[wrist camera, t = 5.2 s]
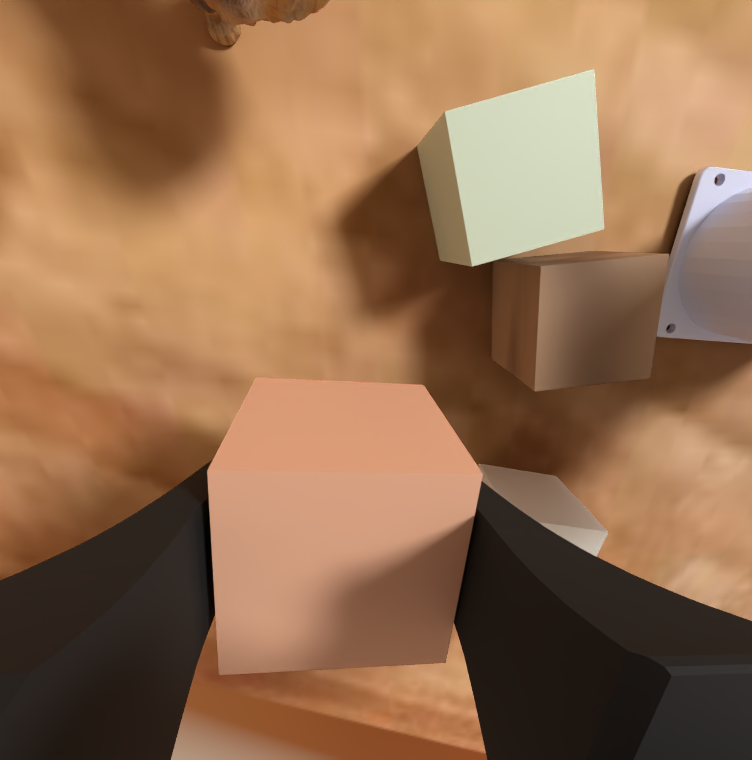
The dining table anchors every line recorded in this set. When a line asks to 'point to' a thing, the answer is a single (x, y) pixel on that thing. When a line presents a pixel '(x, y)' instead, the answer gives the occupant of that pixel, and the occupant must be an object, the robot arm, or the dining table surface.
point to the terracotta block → (338, 527)
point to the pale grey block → (547, 504)
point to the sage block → (515, 171)
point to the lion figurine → (251, 14)
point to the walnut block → (577, 317)
